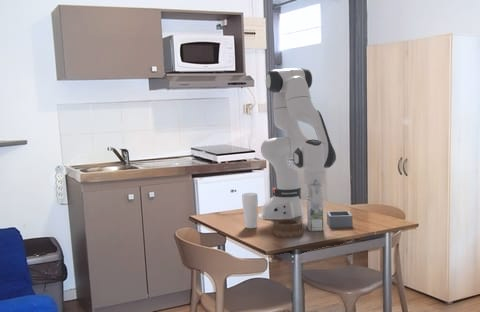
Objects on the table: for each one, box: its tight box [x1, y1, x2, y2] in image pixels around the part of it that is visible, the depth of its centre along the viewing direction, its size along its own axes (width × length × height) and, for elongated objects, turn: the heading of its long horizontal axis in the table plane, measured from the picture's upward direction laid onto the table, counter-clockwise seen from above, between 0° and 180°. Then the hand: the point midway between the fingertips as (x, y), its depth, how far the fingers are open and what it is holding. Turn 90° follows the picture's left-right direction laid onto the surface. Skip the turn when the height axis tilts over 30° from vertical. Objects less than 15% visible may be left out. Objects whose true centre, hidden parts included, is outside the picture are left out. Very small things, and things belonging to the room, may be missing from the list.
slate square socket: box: [326, 210, 354, 229], centre depth 223 cm, size 10×10×5 cm
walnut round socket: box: [273, 218, 304, 239], centre depth 211 cm, size 12×12×5 cm
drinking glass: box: [241, 192, 259, 229], centre depth 225 cm, size 7×7×15 cm
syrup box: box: [306, 195, 324, 232], centre depth 215 cm, size 6×6×14 cm
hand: (315, 210), depth 215 cm, fingers closed on syrup box, 6 cm apart
